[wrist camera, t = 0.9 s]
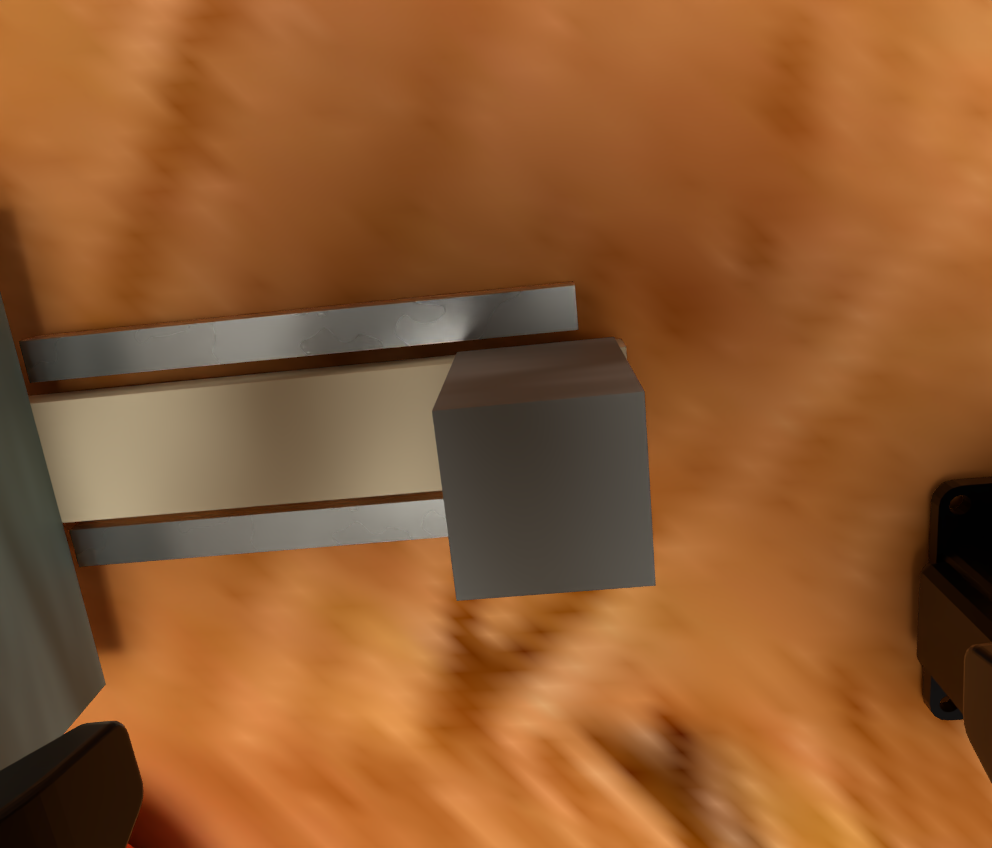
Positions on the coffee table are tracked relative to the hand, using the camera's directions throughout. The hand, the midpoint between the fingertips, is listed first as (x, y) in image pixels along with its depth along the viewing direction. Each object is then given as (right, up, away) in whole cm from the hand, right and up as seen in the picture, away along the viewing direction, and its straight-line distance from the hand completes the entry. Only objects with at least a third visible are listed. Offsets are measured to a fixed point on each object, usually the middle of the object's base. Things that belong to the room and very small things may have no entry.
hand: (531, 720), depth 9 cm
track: (-5, +3, +12) cm, 13 cm away
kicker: (-5, +3, +11) cm, 13 cm away
